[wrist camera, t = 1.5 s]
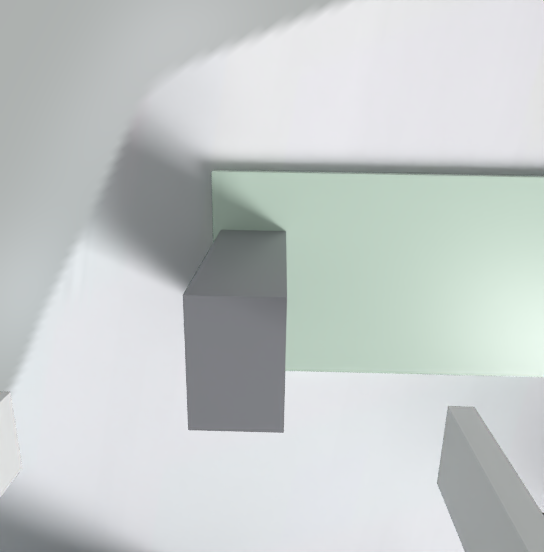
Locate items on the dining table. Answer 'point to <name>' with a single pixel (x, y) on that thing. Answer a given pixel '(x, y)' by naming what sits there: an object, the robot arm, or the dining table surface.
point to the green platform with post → (360, 284)
